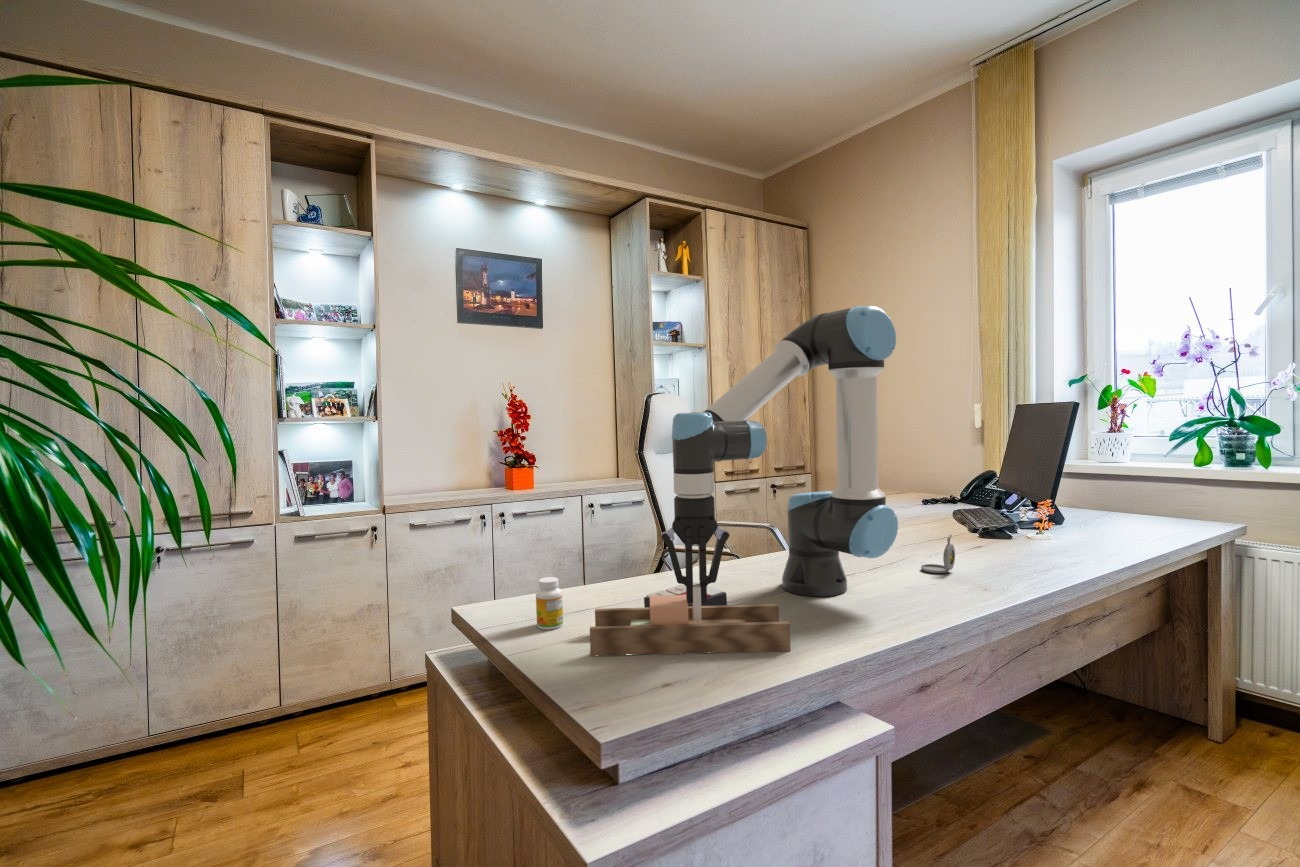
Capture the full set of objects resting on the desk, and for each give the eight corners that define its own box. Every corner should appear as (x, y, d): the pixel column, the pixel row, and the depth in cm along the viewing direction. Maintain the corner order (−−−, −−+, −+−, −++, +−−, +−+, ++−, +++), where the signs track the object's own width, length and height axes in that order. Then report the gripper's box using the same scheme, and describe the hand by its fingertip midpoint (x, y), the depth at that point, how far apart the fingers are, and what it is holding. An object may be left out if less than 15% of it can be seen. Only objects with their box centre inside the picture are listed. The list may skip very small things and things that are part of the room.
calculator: (642, 594, 142) (696, 578, 150) (644, 613, 142) (697, 596, 151) (672, 606, 133) (727, 589, 141) (673, 626, 133) (728, 608, 141)
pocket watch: (918, 567, 170) (917, 530, 169) (951, 568, 168) (951, 530, 168) (927, 576, 162) (926, 536, 161) (962, 576, 160) (962, 536, 160)
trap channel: (778, 628, 127) (777, 604, 127) (790, 651, 116) (789, 623, 115) (596, 633, 127) (595, 608, 127) (590, 656, 116) (589, 628, 116)
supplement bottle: (534, 624, 134) (532, 578, 134) (559, 620, 136) (557, 574, 136) (540, 632, 129) (538, 584, 129) (566, 627, 131) (564, 580, 131)
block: (686, 620, 125) (685, 594, 124) (688, 633, 118) (688, 606, 117) (650, 621, 125) (649, 596, 124) (650, 634, 118) (649, 607, 117)
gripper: (726, 491, 124) (729, 612, 125) (659, 493, 124) (662, 613, 125) (731, 496, 116) (734, 625, 117) (659, 498, 116) (663, 627, 117)
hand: (697, 619), depth 121 cm, fingers closed
